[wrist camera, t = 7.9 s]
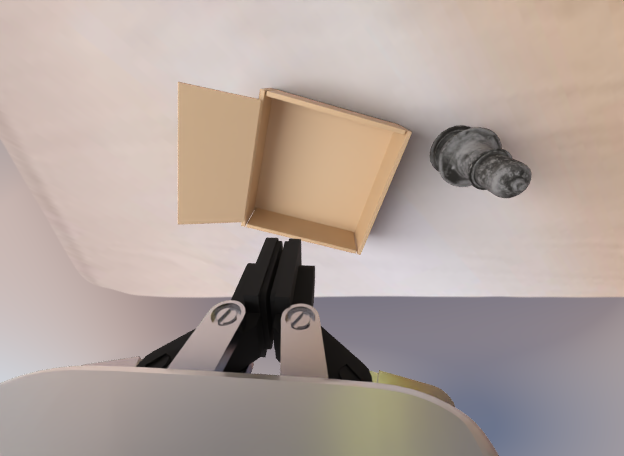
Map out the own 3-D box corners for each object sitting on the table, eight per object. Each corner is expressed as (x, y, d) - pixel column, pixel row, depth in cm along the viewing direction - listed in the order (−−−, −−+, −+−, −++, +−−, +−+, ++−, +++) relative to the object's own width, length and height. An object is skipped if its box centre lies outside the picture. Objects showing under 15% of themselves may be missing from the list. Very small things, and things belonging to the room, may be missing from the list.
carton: (399, 124, 28) (413, 132, 24) (356, 234, 35) (360, 255, 31) (271, 87, 27) (260, 89, 23) (252, 207, 34) (241, 226, 30)
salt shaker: (491, 125, 28) (591, 150, 17) (471, 178, 31) (545, 228, 20) (436, 120, 28) (501, 142, 17) (420, 174, 31) (469, 221, 20)
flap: (178, 82, 19) (178, 81, 20) (178, 224, 25) (177, 222, 26) (260, 100, 23) (259, 99, 23) (243, 222, 29) (242, 220, 29)
